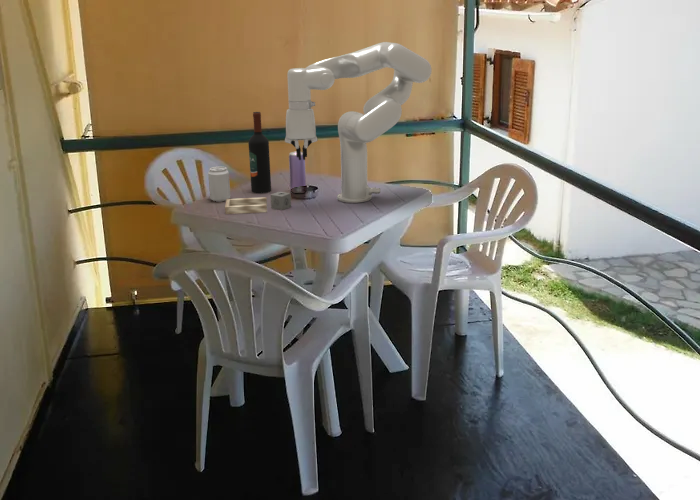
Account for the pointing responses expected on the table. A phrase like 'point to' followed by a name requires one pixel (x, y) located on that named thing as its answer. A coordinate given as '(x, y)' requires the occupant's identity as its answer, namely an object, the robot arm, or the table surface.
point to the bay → (246, 205)
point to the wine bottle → (259, 158)
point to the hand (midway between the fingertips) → (301, 158)
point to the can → (219, 184)
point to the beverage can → (297, 170)
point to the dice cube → (280, 200)
